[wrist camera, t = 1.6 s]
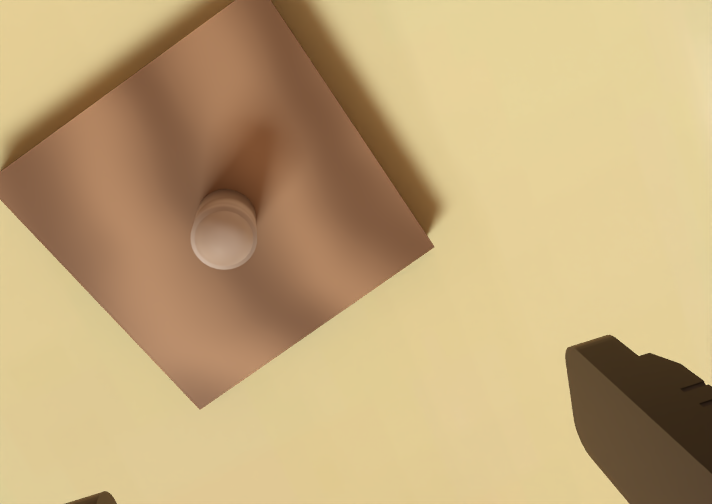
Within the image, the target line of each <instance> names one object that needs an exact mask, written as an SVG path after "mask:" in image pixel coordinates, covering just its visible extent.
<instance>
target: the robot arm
mask: <svg viewBox="0 0 712 504" xmlns="http://www.w3.org/2000/svg"><path fill="white" fill-rule="evenodd" d="M565 358H566V367H567V374H568V381H569V388H570V395H571V402H572V409H573V416H574V422H575V426H576V430H577V433H578V435H579V438H580V440H581V442H582V444H583V446H584V448H585V450H586V451H587V453H588V454H589V456H590V457H591V458H592V459H593V461H594V462H595V463H596V464H597V465H598V467H599V468H600V469H601V470H602V471H603V473H604V474H605V475H606V476H607V477H608V478H609V480H610V481H611V482H612V483H613V484H614V486H615V487H616V488H617V489H618V490H619V492H620V493H621V494H622V495H623V496H624V497H625V499H626V500H627V501H628V502H629V503H630V504H712V387H711V386H710V385H705V383H704V381H703V380H702V379H701V378H699V377H698V376H696V375H695V374H694V373H692V372H691V371H690V370H688V369H687V368H686V367H684V366H683V365H681V364H679V363H677V362H674V361H671V360H668V359H665V358H663V357H660V356H657V355H654V354H651V353H648V354H644V355H641V356H638V355H637V354H635V353H634V352H633V351H632V350H630V349H629V348H628V347H626V346H625V345H624V344H623V343H621V342H620V341H619V340H618V339H616V338H615V337H613V336H611V335H606V336H603V337H600V338H596V339H593V340H590V341H587V342H584V343H580V344H577V345H574V346H571V347H568V348H567V350H566V354H565ZM66 504H117V503H116V501H115V499H114V498H113V496H112V495H111V494H110V493H108V492H106V491H104V492H101V493H98V494H95V495H91V496H88V497H85V498H82V499H79V500H75V501H72V502H69V503H66Z"/></svg>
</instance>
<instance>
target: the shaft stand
mask: <svg viewBox="0 0 712 504" xmlns="http://www.w3.org/2000/svg"><path fill="white" fill-rule="evenodd" d="M0 200H1V201H2V202H3V203H4V204H5V205H6V206H7V207H8V208H9V209H10V210H11V211H12V212H13V213H14V215H15V216H16V217H17V218H18V219H19V220H20V221H21V222H22V223H23V224H24V225H25V226H26V227H27V228H28V229H29V230H30V231H31V232H32V233H33V234H34V236H35V237H36V238H37V239H38V240H39V241H40V242H41V243H42V244H43V245H44V246H45V247H46V248H47V249H48V250H49V251H50V252H51V253H52V254H53V256H54V257H55V258H56V259H57V260H58V261H59V262H60V263H61V264H62V265H63V266H64V267H65V268H66V269H67V270H68V271H69V272H70V273H71V274H72V276H73V277H74V278H75V279H76V280H77V281H78V282H79V283H80V284H81V285H82V286H83V287H84V288H85V289H86V290H87V291H88V292H89V293H90V294H91V296H92V297H93V298H94V299H95V300H96V301H97V302H98V303H99V304H100V305H101V306H102V307H103V308H104V309H105V310H106V311H107V312H108V313H109V314H110V316H111V317H112V318H113V319H114V320H115V321H116V322H117V323H118V324H119V325H120V326H121V327H122V328H123V329H124V330H125V331H126V332H127V333H128V334H129V336H130V337H131V338H132V339H133V340H134V341H135V342H136V343H137V344H138V345H139V346H140V347H141V348H142V349H143V350H144V351H145V352H146V353H147V354H148V356H149V357H150V358H151V359H152V360H153V361H154V362H155V363H156V364H157V365H158V366H159V367H160V368H161V369H162V370H163V371H164V372H165V373H166V374H167V376H168V377H169V378H170V379H171V380H172V381H173V382H174V383H175V384H176V385H177V386H178V387H179V388H180V389H181V390H182V391H183V392H184V393H185V394H186V396H187V397H188V398H189V399H190V400H191V401H192V402H193V403H194V404H195V405H196V406H197V407H198V408H199V409H202V408H203V407H205V406H206V405H208V404H209V403H210V402H212V401H213V400H215V399H216V398H218V397H219V396H220V395H222V394H223V393H225V392H226V391H228V390H229V389H231V388H232V387H233V386H235V385H236V384H238V383H239V382H241V381H242V380H244V379H245V378H246V377H248V376H249V375H251V374H252V373H254V372H255V371H257V370H258V369H259V368H261V367H262V366H264V365H265V364H267V363H268V362H269V361H271V360H272V359H274V358H275V357H277V356H278V355H280V354H281V353H282V352H284V351H285V350H287V349H288V348H290V347H291V346H293V345H294V344H295V343H297V342H298V341H300V340H301V339H303V338H304V337H306V336H307V335H308V334H310V333H311V332H313V331H314V330H316V329H317V328H318V327H320V326H321V325H323V324H324V323H326V322H327V321H329V320H330V319H331V318H333V317H334V316H336V315H337V314H339V313H340V312H342V311H343V310H344V309H346V308H347V307H349V306H350V305H352V304H353V303H355V302H356V301H357V300H359V299H360V298H362V297H363V296H365V295H366V294H367V293H369V292H370V291H372V290H373V289H375V288H376V287H378V286H379V285H380V284H382V283H383V282H385V281H386V280H388V279H389V278H391V277H392V276H393V275H395V274H396V273H398V272H399V271H401V270H402V269H403V268H405V267H406V266H408V265H409V264H411V263H412V262H414V261H415V260H416V259H418V258H419V257H421V256H422V255H424V254H425V253H427V252H428V251H429V250H431V249H432V248H434V245H433V244H432V242H431V241H430V239H429V238H428V236H427V235H426V233H425V232H424V230H423V229H422V227H421V226H420V224H419V223H418V221H417V220H416V218H415V217H414V215H413V214H412V212H411V211H410V209H409V208H408V206H407V205H406V203H405V202H404V200H403V199H402V197H401V196H400V194H399V193H398V191H397V190H396V188H395V187H394V185H393V184H392V182H391V181H390V179H389V178H388V176H387V175H386V173H385V172H384V170H383V169H382V167H381V166H380V164H379V163H378V161H377V160H376V158H375V157H374V155H373V154H372V152H371V151H370V149H369V148H368V146H367V145H366V143H365V142H364V140H363V139H362V137H361V136H360V134H359V133H358V131H357V130H356V128H355V127H354V125H353V124H352V122H351V121H350V119H349V118H348V116H347V115H346V113H345V112H344V110H343V108H342V107H341V105H340V104H339V102H338V101H337V99H336V98H335V96H334V95H333V93H332V92H331V90H330V89H329V87H328V86H327V84H326V83H325V81H324V80H323V78H322V77H321V75H320V74H319V72H318V71H317V69H316V68H315V66H314V65H313V63H312V62H311V60H310V59H309V57H308V56H307V54H306V53H305V51H304V50H303V48H302V47H301V45H300V44H299V42H298V41H297V39H296V38H295V36H294V35H293V33H292V32H291V30H290V29H289V27H288V26H287V24H286V23H285V21H284V20H283V18H282V17H281V15H280V14H279V12H278V11H277V9H276V8H275V6H274V5H273V3H272V2H271V0H235V1H233V2H232V3H231V4H229V5H228V6H227V7H225V8H224V9H222V10H221V11H220V12H218V13H217V14H216V15H214V16H213V17H211V18H210V19H209V20H207V21H206V22H205V23H203V24H202V25H201V26H199V27H198V28H196V29H195V30H194V31H192V32H191V33H190V34H188V35H187V36H185V37H184V38H183V39H181V40H180V41H179V42H177V43H176V44H175V45H173V46H172V47H170V48H169V49H168V50H166V51H165V52H164V53H162V54H161V55H159V56H158V57H157V58H155V59H154V60H153V61H151V62H150V63H148V64H147V65H146V66H144V67H143V68H142V69H140V70H139V71H138V72H136V73H135V74H133V75H132V76H131V77H129V78H128V79H127V80H125V81H124V82H122V83H121V84H120V85H118V86H117V87H116V88H114V89H113V90H111V91H110V92H109V93H107V94H106V95H105V96H103V97H102V98H101V99H99V100H98V101H96V102H95V103H94V104H92V105H91V106H90V107H88V108H87V109H85V110H84V111H83V112H81V113H80V114H79V115H77V116H76V117H75V118H73V119H72V120H70V121H69V122H68V123H66V124H65V125H64V126H62V127H61V128H59V129H58V130H57V131H55V132H54V133H53V134H51V135H50V136H48V137H47V138H46V139H44V140H43V141H42V142H40V143H39V144H38V145H36V146H35V147H33V148H32V149H31V150H29V151H28V152H27V153H25V154H24V155H22V156H21V157H20V158H18V159H17V160H16V161H14V162H13V163H11V164H10V165H9V166H7V167H6V168H5V169H3V170H2V171H1V172H0Z"/></svg>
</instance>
